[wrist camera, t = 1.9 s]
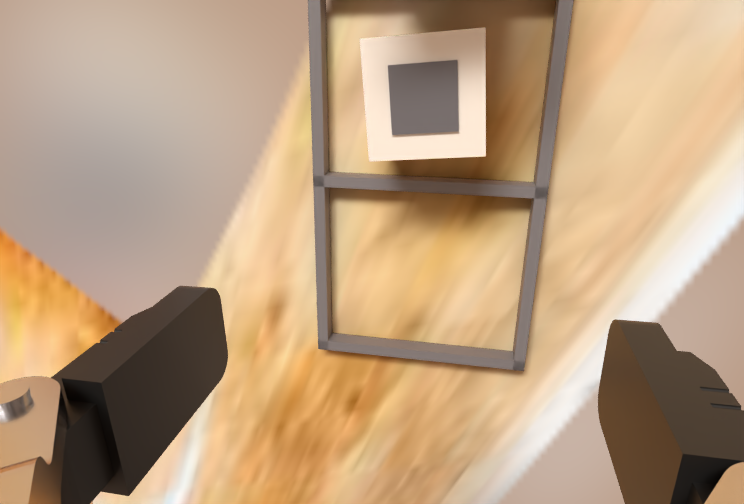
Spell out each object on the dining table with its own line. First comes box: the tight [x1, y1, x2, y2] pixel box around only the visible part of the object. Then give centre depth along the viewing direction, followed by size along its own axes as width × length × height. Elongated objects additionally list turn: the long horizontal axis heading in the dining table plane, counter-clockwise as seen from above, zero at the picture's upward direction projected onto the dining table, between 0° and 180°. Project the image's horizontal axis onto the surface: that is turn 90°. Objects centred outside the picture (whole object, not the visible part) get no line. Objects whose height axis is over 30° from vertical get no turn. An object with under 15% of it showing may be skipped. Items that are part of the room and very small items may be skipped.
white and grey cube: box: [360, 27, 486, 161], centre depth 24 cm, size 5×5×5 cm
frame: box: [308, 0, 574, 371], centre depth 25 cm, size 30×12×1 cm, turn 179°
